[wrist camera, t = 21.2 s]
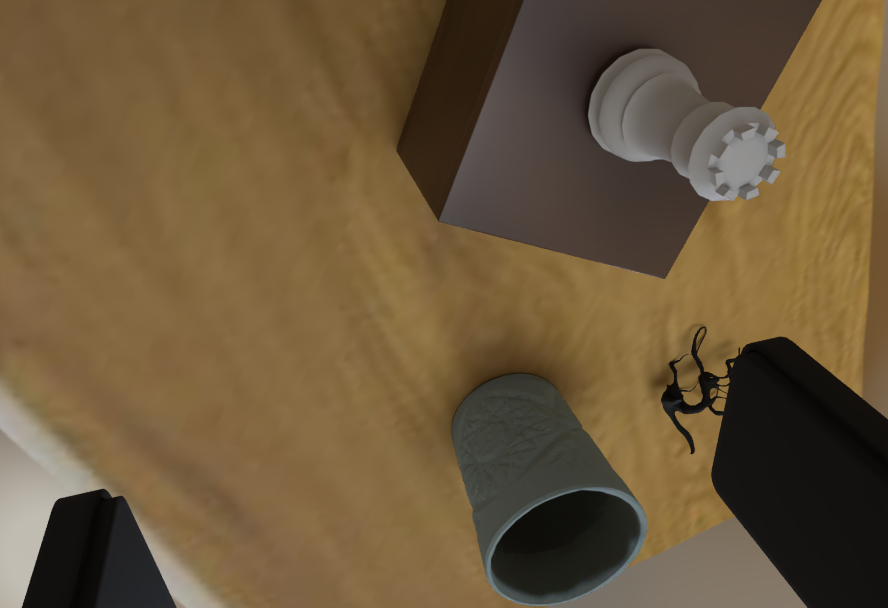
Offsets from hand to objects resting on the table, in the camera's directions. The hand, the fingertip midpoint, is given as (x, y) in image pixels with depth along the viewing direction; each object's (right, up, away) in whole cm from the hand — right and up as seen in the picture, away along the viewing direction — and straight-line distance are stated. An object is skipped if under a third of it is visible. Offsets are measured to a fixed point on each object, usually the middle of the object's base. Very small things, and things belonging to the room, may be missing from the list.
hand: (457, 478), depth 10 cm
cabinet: (+5, +16, +26) cm, 31 cm away
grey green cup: (+4, -6, +39) cm, 40 cm away
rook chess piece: (+8, +11, +18) cm, 23 cm away
